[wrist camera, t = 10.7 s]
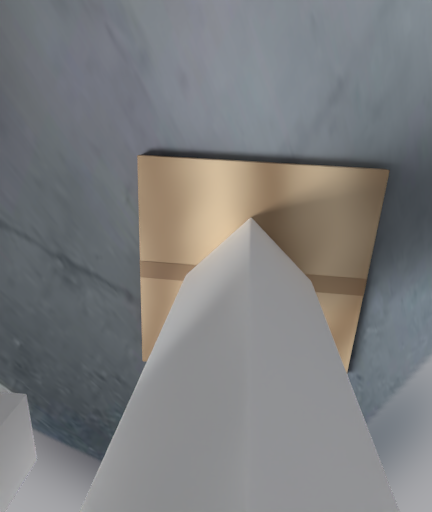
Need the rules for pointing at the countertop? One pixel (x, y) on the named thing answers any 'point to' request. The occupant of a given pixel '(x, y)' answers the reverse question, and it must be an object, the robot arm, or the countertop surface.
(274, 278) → the milk
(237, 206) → the flat cardboard box
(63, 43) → the countertop surface
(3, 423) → the robot arm
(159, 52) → the countertop surface
